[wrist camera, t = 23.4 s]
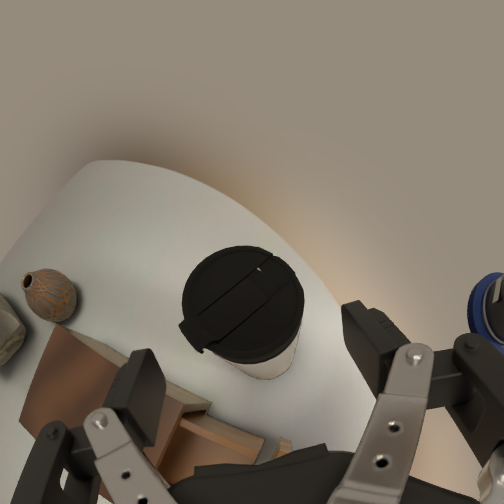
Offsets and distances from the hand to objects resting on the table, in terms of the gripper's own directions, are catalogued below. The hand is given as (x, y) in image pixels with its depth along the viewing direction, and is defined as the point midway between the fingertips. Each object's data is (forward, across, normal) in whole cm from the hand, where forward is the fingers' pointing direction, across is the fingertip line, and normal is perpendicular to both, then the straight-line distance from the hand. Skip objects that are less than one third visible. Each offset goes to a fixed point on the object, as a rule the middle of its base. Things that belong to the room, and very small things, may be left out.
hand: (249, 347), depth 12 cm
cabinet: (+14, -17, -17) cm, 28 cm away
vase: (+25, -26, -5) cm, 37 cm away
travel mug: (+17, 0, -13) cm, 22 cm away
